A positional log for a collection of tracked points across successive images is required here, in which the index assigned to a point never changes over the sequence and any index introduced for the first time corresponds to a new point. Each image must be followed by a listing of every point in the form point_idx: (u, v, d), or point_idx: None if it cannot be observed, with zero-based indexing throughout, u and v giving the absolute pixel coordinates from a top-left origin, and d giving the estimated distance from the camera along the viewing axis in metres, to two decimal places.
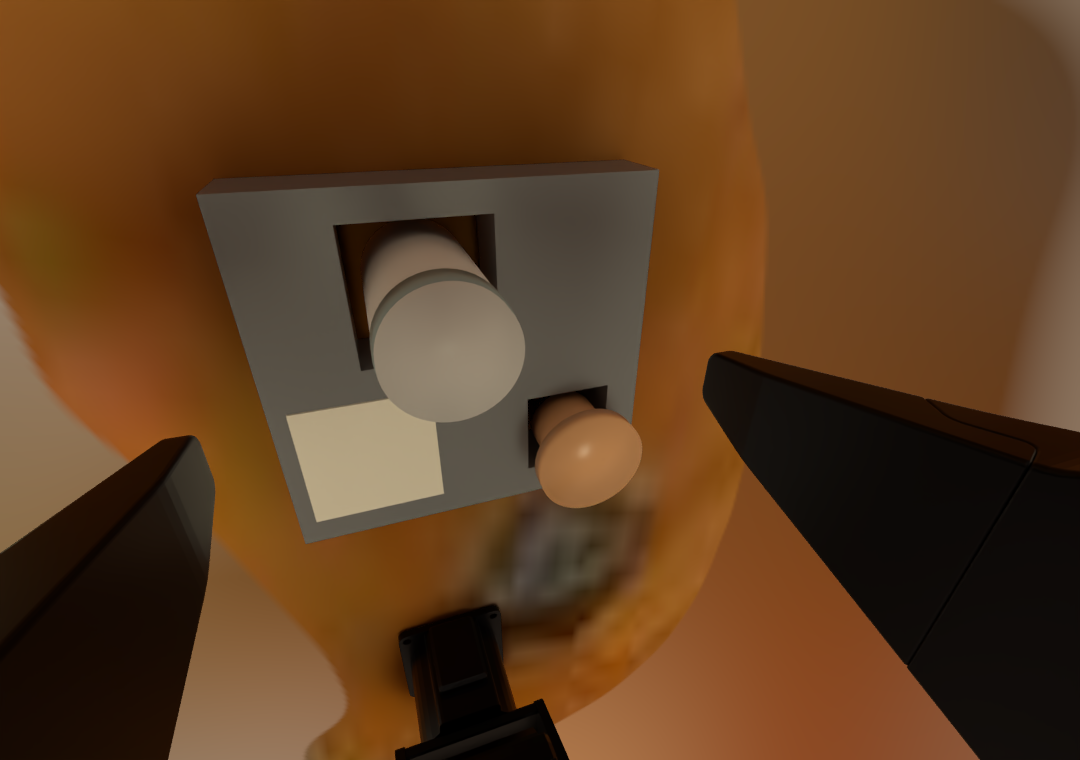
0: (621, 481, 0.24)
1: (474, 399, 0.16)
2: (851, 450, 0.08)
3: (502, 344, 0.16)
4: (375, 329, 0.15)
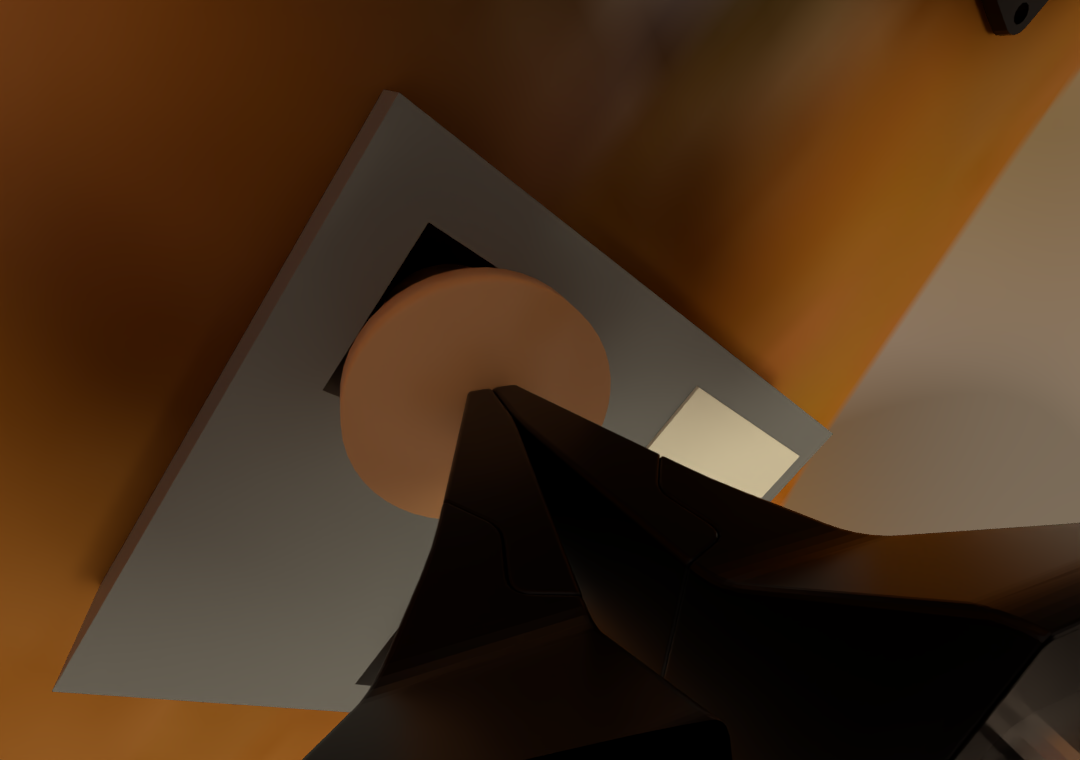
0: (457, 311, 0.08)
1: None
2: (575, 517, 0.06)
3: None
4: None
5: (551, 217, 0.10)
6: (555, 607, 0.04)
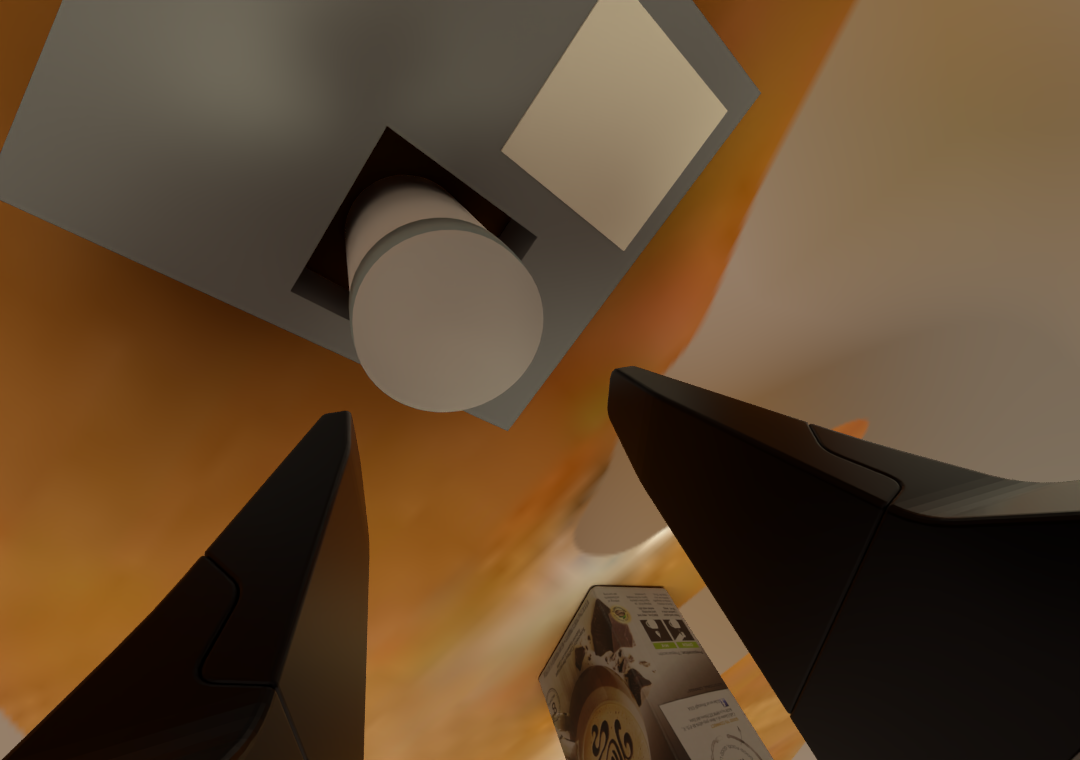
0: None
1: (470, 264, 0.11)
2: (730, 480, 0.07)
3: (390, 308, 0.11)
4: None
5: None
6: (229, 704, 0.03)
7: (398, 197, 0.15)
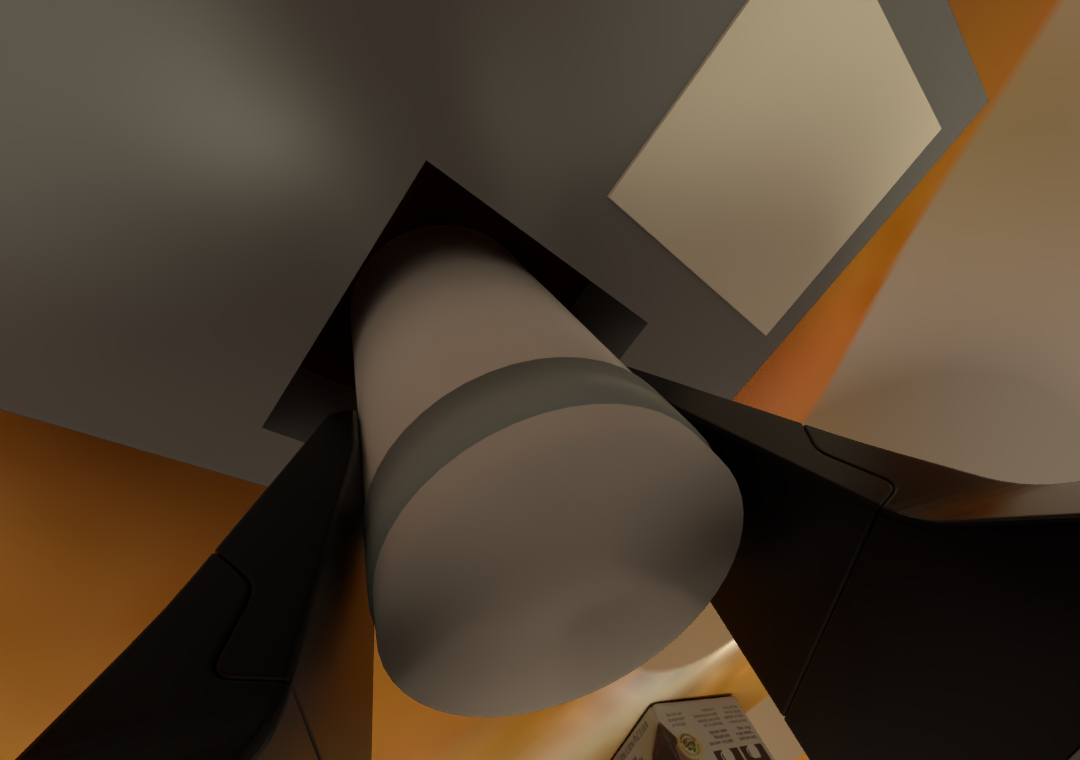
0: None
1: (629, 479, 0.05)
2: None
3: (458, 580, 0.05)
4: None
5: None
6: (244, 699, 0.03)
7: (444, 282, 0.09)
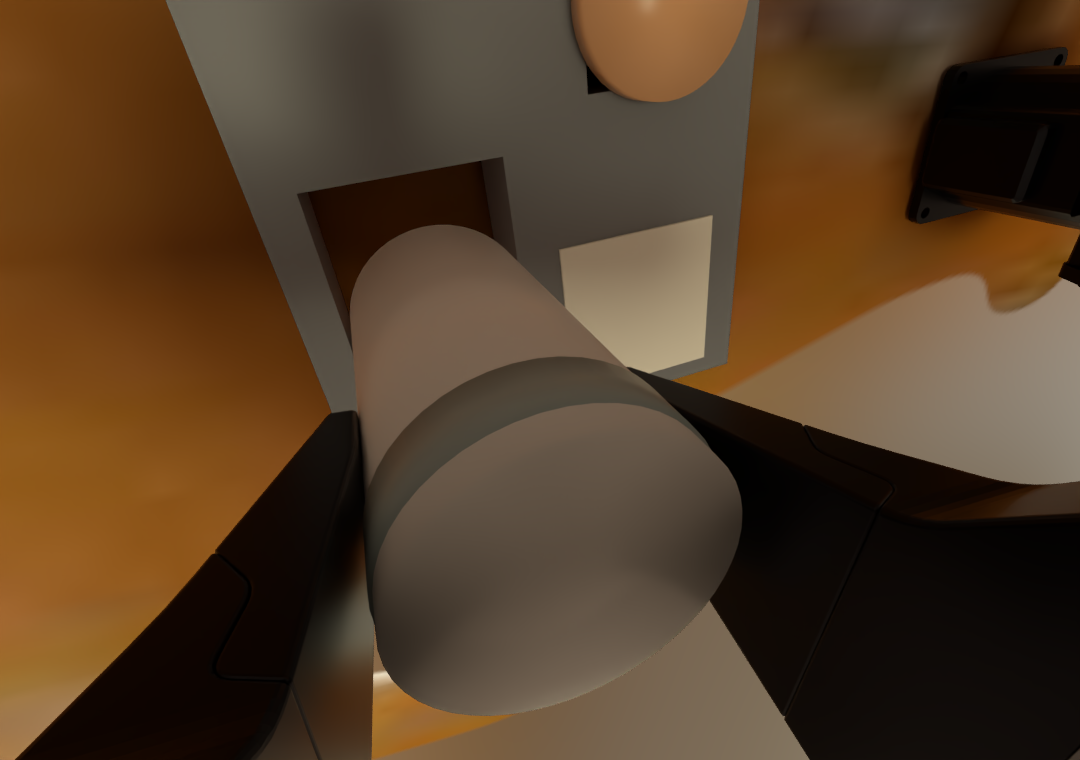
0: None
1: (629, 478, 0.05)
2: None
3: (457, 579, 0.05)
4: None
5: None
6: (243, 699, 0.03)
7: (444, 281, 0.09)
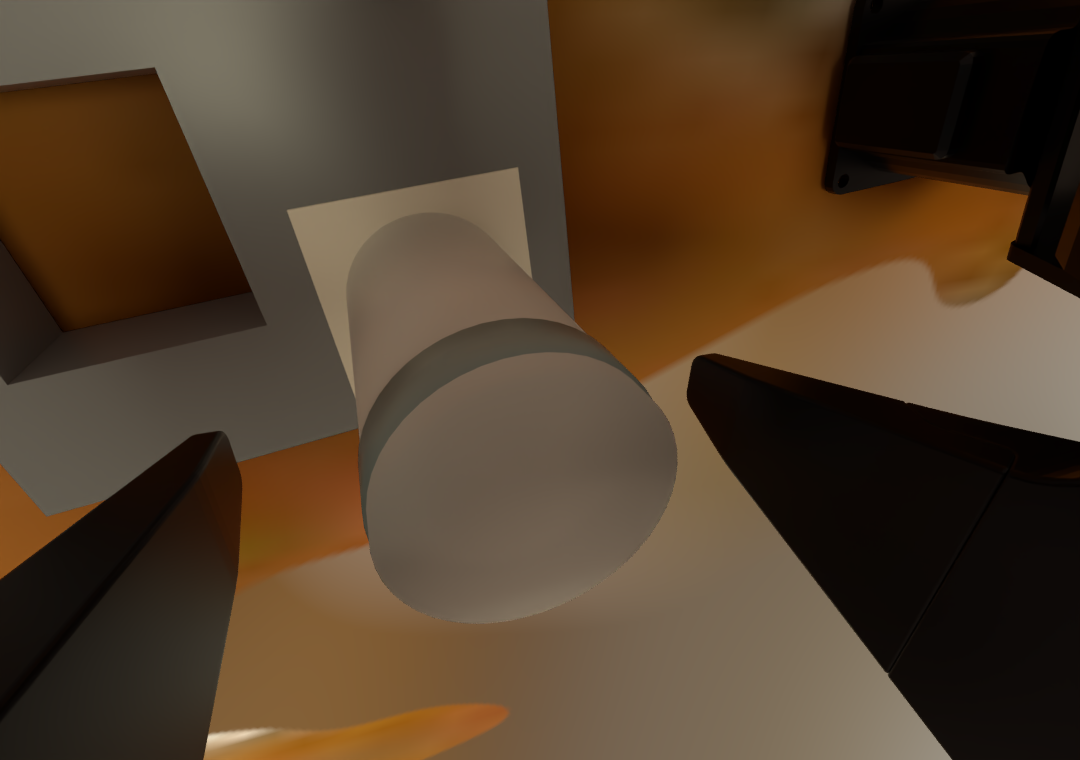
0: None
1: (575, 413, 0.07)
2: (831, 455, 0.08)
3: (435, 494, 0.06)
4: None
5: None
6: None
7: (429, 260, 0.10)
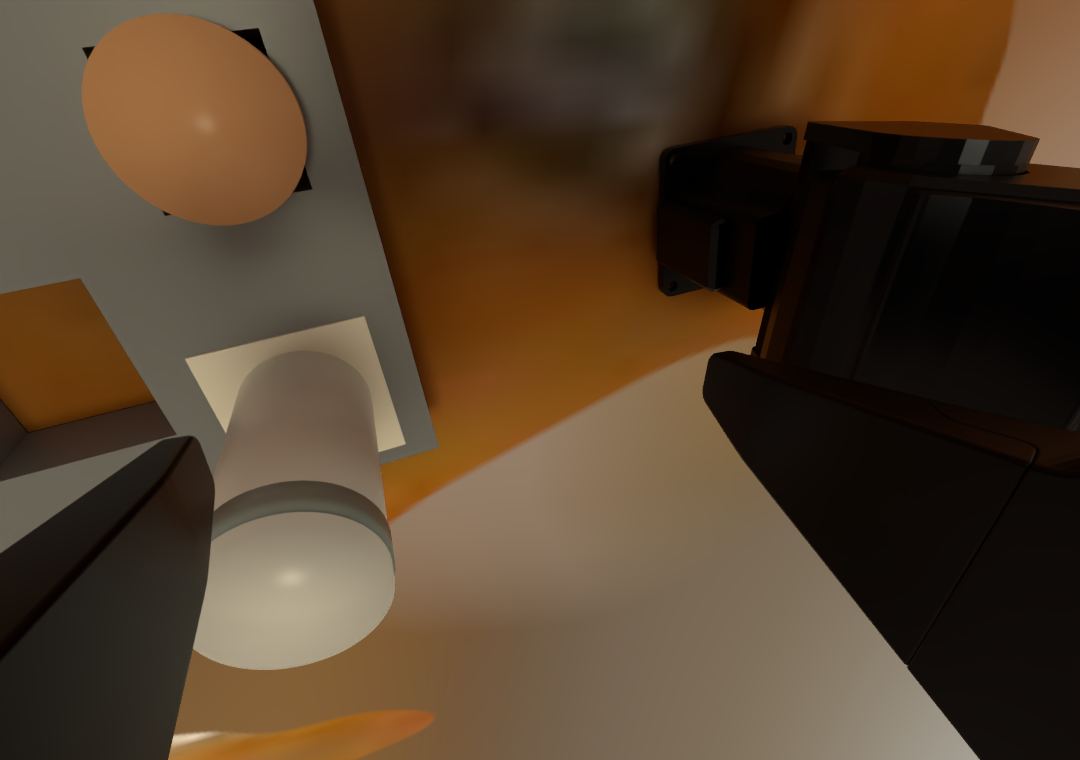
0: (233, 52, 0.13)
1: (301, 549, 0.11)
2: (851, 450, 0.08)
3: (216, 599, 0.11)
4: None
5: (339, 105, 0.15)
6: None
7: (266, 413, 0.14)
